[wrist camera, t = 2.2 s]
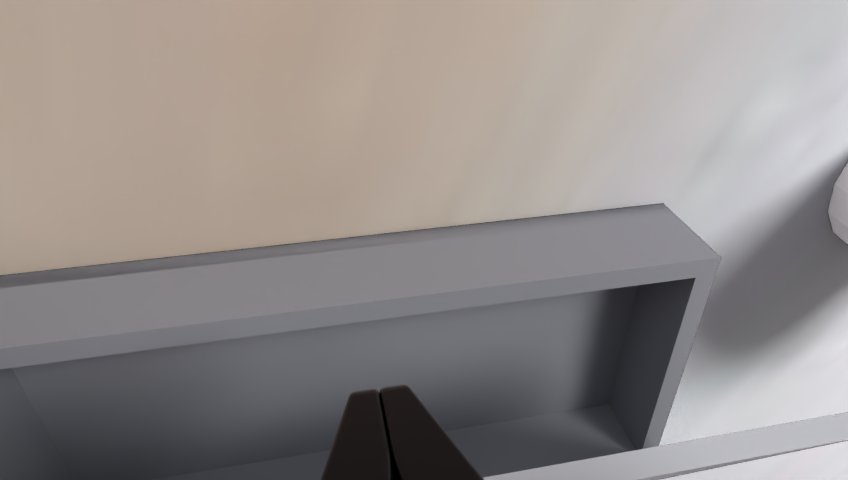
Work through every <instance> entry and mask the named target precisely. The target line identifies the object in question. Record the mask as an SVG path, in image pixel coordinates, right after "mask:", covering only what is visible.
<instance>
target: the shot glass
mask: <svg viewBox="0 0 848 480" xmlns="http://www.w3.org/2000/svg"><path fill="white" fill-rule="evenodd" d="M828 214H829V218H830V222H831V225H832V229H833V232H834V233H835V234H836V235H837V236H838V237H839V238H841V239H842V240H843V241H844V242H845V243H846V244H848V162H847V164H846V166H845V167H844V169H843V171H842V172H841V174H840V176H839V177H838V179H837V180H836V182H835V184H834V188H833V192H832V196H831V200H830V204H829V209H828Z"/></svg>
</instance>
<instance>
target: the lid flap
mask: <svg viewBox="0 0 848 480" xmlns="http://www.w3.org/2000/svg"><path fill="white" fill-rule="evenodd" d="M843 441H848V412H846V413H840V414H835V415H829V416H823V417H818V418H812V419H807V420H801V421H796V422H790V423H785V424H779V425H773V426H768V427H762V428H757V429H751V430H746V431H740V432H734V433H729V434H723V435H718V436H712V437H707V438H701V439H696V440H690V441H684V442H679V443H673V444H668V445H662V446H657V447H651V448H645V449H640V450H634V451H629V452H623V453H618V454H612V455H607V456H601V457H595V458H590V459H584V460H579V461H573V462H568V463H562V464H556V465H551V466H545V467H540V468H534V469H529V470H523V471H518V472H512V473H506V474H501V475H495V476H490V477H484V478H483V479H484V480H659V479H664V478H669V477H674V476H679V475H684V474H689V473H693V472H698V471H703V470H708V469H713V468H718V467H722V466H727V465H732V464H737V463H742V462H747V461H751V460H756V459H761V458H766V457H771V456H776V455H780V454H785V453H790V452H795V451H800V450H805V449H809V448H814V447H819V446H824V445H829V444H834V443H838V442H843Z"/></svg>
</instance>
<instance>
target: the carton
mask: <svg viewBox="0 0 848 480" xmlns="http://www.w3.org/2000/svg"><path fill="white" fill-rule="evenodd" d="M720 260H721V256H719V255H718V254H717V253H716V252H715V251H714V250H713V249H712V248H711V247H710V246H709V245H708V244H706V243H705V242H704V241H703V240H702V239H701V238H700V237H699V236H698V235H697V234H696V233H695V232H694V231H692V230H691V229H690V228H689V227H688V226H687V225H686V224H685V223H684V222H683V221H682V220H681V219H679V218H678V217H677V216H676V215H675V214H674V213H673V212H672V211H671V210H670V209H669V208H668V207H666V206H665V205H664V204H663V203H662V204H652V205H643V206H634V207H625V208H616V209H606V210H597V211H588V212H579V213H570V214H560V215H551V216H542V217H533V218H524V219H515V220H505V221H496V222H487V223H478V224H469V225H459V226H450V227H441V228H432V229H423V230H413V231H404V232H395V233H386V234H377V235H368V236H358V237H349V238H340V239H331V240H322V241H312V242H303V243H294V244H285V245H276V246H266V247H257V248H248V249H239V250H230V251H221V252H211V253H202V254H193V255H184V256H175V257H165V258H156V259H147V260H138V261H129V262H119V263H110V264H101V265H92V266H83V267H74V268H64V269H55V270H46V271H37V272H28V273H18V274H9V275H0V480H321V477H322V474H323V471H324V468H325V465H326V462H327V459H328V456H329V453H330V450H331V447H332V444H333V441H334V438H335V435H336V432H337V429H338V426H339V423H340V420H341V418H342V415H343V412H344V409H345V406H346V403H347V400H348V397H349V395H350V394H351V393H352V392H355V391H361V390H368V389H376V390H378V391H379V392H380V390H381V389H382V388H383V387H388V386H395V385H402V384H405V385H407V386H409V387H410V388H411V389H412V390H413V392H414V393H415V394H416V395H417V397H418V398H419V399H420V400H421V402H422V403H423V404H424V405H425V407H426V408H427V409H428V410H429V412H430V413H431V414H432V415H433V417H434V418H435V419H436V420H437V422H438V423H439V424H440V425H441V427H442V428H443V429H444V430H445V431H446V433H447V434H448V435H449V436H450V438H451V439H452V440H453V441H454V443H455V444H456V445H457V446H458V448H459V449H460V450H461V451H462V453H463V454H464V455H465V456H466V458H467V459H468V460H469V461H470V463H471V464H472V465H473V466H474V468H475V469H476V470H477V471H478V472H479V474H480V475H481V476H482V477H483V478H484V477H490V476H495V475H501V474H506V473H512V472H518V471H523V470H529V469H534V468H540V467H545V466H551V465H556V464H562V463H568V462H573V461H579V460H584V459H590V458H595V457H601V456H607V455H612V454H618V453H623V452H629V451H634V450H640V449H645V448H651V447H657V446H659V443H660V440H661V437H662V434H663V431H664V428H665V425H666V422H667V419H668V416H669V413H670V410H671V407H672V404H673V401H674V398H675V395H676V392H677V389H678V386H679V383H680V380H681V377H682V374H683V371H684V368H685V365H686V362H687V359H688V356H689V353H690V350H691V347H692V344H693V341H694V338H695V335H696V332H697V329H698V326H699V323H700V320H701V317H702V314H703V311H704V308H705V305H706V302H707V299H708V296H709V293H710V290H711V287H712V284H713V281H714V278H715V275H716V272H717V269H718V266H719V263H720Z"/></svg>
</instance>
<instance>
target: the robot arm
mask: <svg viewBox="0 0 848 480" xmlns="http://www.w3.org/2000/svg"><path fill="white" fill-rule="evenodd" d="M321 480H484V479H483V477H482V476H481V475H480V474H479V472H478V471H477V470H476V469H475V468H474V466H473V465H472V464H471V463H470V461H469V460H468V459H467V458H466V456H465V455H464V454H463V453H462V451H461V450H460V449H459V448H458V446H457V445H456V444H455V443H454V441H453V440H452V439H451V438H450V436H449V435H448V434H447V433H446V431H445V430H444V429H443V428H442V427H441V425H440V424H439V423H438V422H437V420H436V419H435V418H434V417H433V415H432V414H431V413H430V412H429V410H428V409H427V408H426V407H425V405H424V404H423V403H422V402H421V400H420V399H419V398H418V397H417V395H416V394H415V393H414V392H413V390H412V389H411V388H410V387H409V386H407V385H405V384H402V385H395V386H388V387H383V388H382V389H381V390H380V392H379V391H378V390H376V389H368V390H361V391H355V392H352V393H351V394H350V395H349V397H348V400H347V403H346V406H345V409H344V412H343V415H342V418H341V420H340V423H339V426H338V429H337V432H336V435H335V438H334V441H333V444H332V447H331V450H330V453H329V456H328V459H327V462H326V465H325V468H324V471H323V474H322V477H321Z"/></svg>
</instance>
